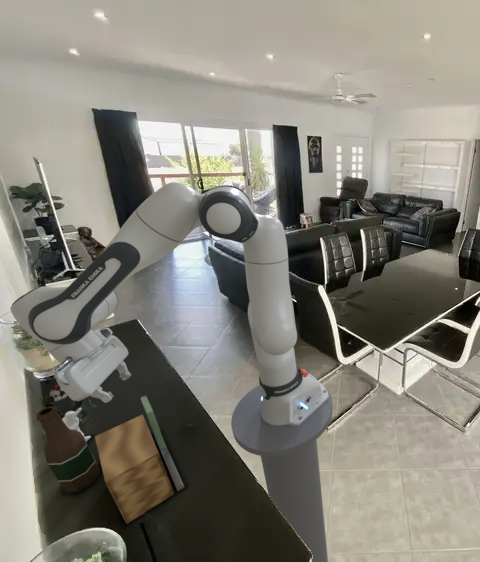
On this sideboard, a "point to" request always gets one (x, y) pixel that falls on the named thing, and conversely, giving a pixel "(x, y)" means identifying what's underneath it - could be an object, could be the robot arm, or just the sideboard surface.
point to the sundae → (61, 401)
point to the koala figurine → (73, 422)
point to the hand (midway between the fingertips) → (119, 388)
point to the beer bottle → (67, 453)
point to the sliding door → (153, 422)
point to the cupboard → (135, 468)
